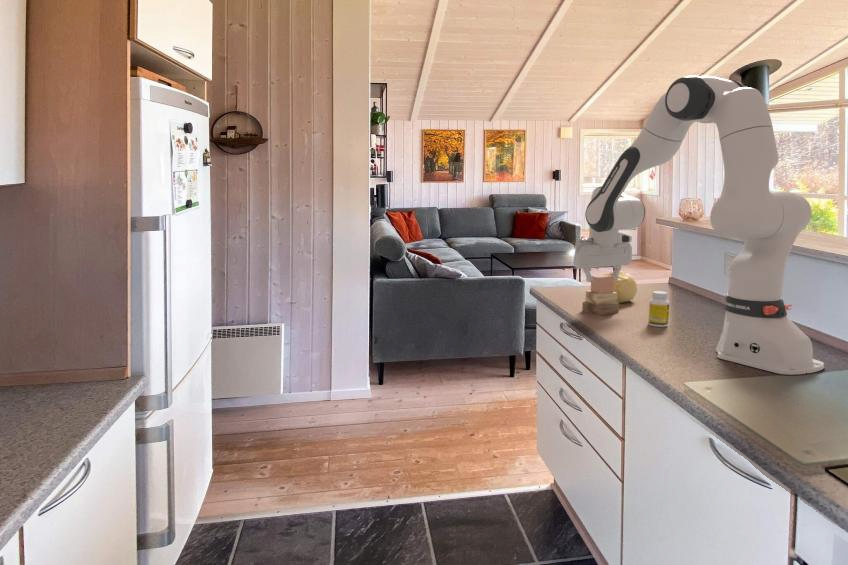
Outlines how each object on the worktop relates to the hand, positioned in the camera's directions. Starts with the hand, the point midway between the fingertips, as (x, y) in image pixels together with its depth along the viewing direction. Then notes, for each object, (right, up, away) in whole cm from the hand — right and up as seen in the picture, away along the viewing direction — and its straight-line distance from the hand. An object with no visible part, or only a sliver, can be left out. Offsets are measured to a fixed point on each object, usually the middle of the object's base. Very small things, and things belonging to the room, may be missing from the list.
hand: (601, 280), depth 183 cm
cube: (0, -4, +1) cm, 4 cm away
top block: (0, -7, +1) cm, 7 cm away
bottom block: (0, -11, +2) cm, 11 cm away
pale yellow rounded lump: (+11, -7, +18) cm, 22 cm away
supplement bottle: (+11, -13, -16) cm, 24 cm away
